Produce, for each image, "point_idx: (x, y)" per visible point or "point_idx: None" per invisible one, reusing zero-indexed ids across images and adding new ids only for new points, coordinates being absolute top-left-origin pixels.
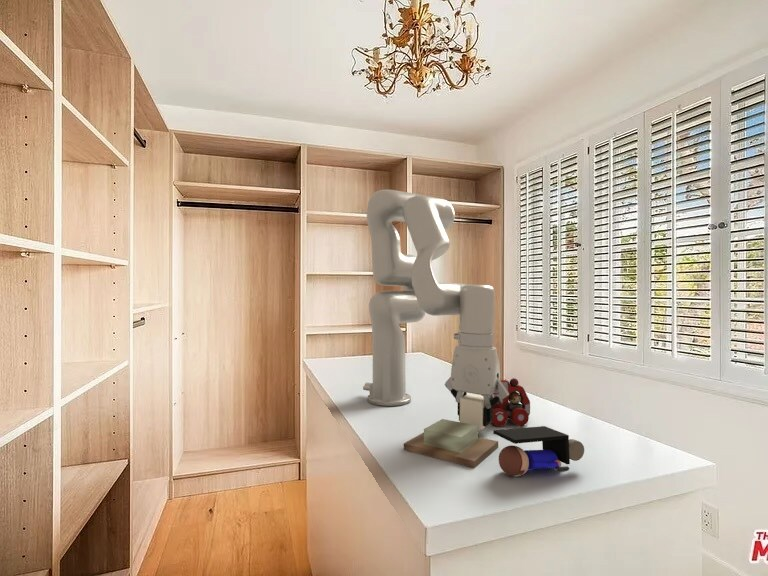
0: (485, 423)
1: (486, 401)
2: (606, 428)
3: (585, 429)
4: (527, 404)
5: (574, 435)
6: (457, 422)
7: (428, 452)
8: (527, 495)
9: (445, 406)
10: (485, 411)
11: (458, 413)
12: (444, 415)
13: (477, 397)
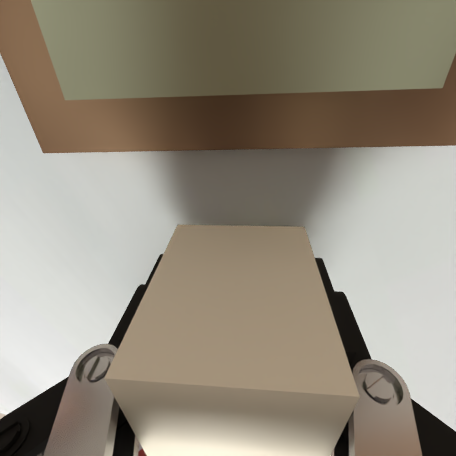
0: (156, 262)
1: (90, 404)
2: (8, 407)
3: (27, 391)
4: (140, 450)
5: (9, 357)
6: (261, 72)
7: None
8: None
9: (429, 402)
10: (129, 319)
11: (339, 296)
12: (418, 346)
13: (217, 444)
